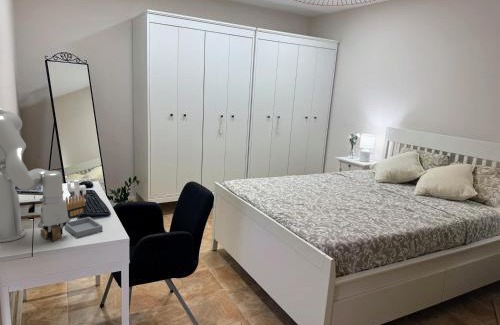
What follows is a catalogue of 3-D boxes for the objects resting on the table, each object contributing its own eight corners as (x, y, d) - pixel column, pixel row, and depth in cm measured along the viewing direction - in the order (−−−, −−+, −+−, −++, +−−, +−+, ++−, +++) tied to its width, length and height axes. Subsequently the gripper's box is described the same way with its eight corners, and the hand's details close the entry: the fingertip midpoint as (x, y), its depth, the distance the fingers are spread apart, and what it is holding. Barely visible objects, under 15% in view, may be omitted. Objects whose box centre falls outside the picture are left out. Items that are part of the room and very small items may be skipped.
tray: (76, 238, 159) (76, 232, 159) (64, 228, 168) (64, 222, 168) (102, 231, 168) (102, 225, 168) (89, 222, 177) (89, 216, 177)
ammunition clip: (67, 220, 178) (65, 197, 176) (64, 219, 179) (63, 196, 176) (86, 214, 187) (85, 192, 184) (84, 213, 188) (83, 192, 185)
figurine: (88, 205, 199) (87, 180, 195) (70, 209, 192) (69, 183, 189) (84, 202, 204) (83, 177, 200) (66, 205, 197) (65, 179, 194)
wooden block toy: (49, 242, 154) (48, 229, 153) (40, 234, 161) (40, 222, 159) (64, 238, 159) (64, 226, 157) (55, 230, 165) (55, 218, 164)
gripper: (35, 205, 145) (37, 245, 149) (76, 197, 157) (77, 235, 161) (29, 200, 150) (31, 239, 154) (69, 193, 162) (70, 230, 166)
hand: (55, 237), depth 158 cm, fingers closed on wooden block toy, 3 cm apart
